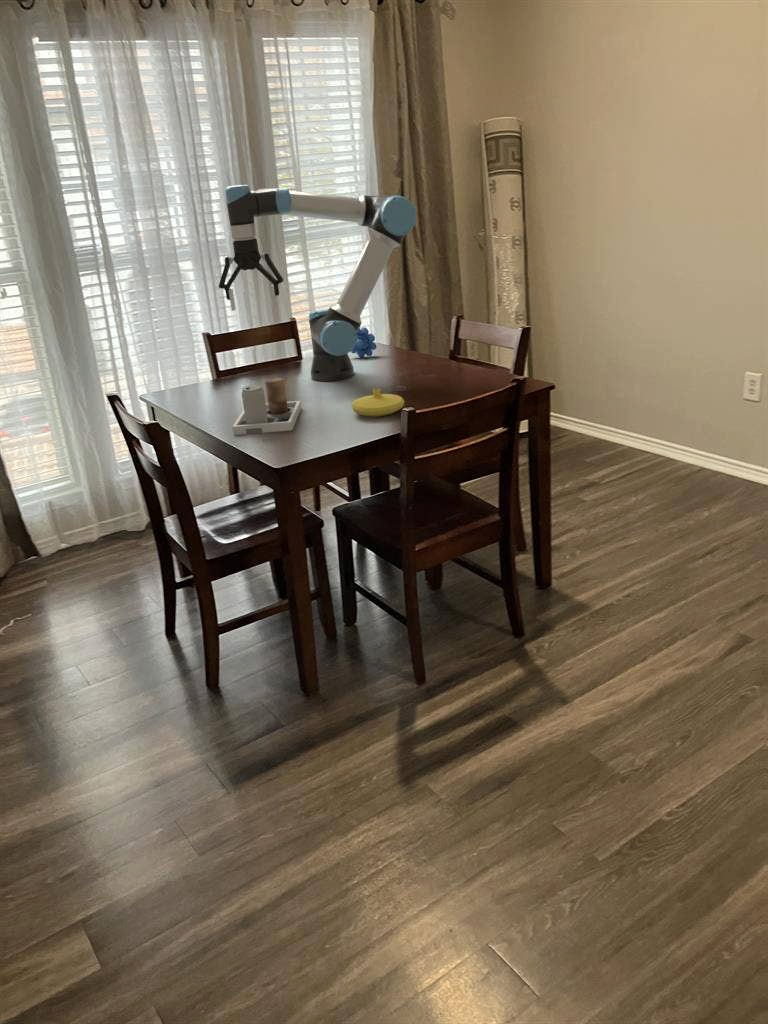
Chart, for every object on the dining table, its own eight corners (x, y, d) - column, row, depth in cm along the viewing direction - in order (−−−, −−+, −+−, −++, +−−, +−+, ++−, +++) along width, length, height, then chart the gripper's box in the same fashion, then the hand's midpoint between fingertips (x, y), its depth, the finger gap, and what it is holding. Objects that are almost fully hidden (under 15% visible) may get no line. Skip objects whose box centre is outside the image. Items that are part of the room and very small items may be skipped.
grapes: (345, 361, 322) (341, 329, 317) (347, 357, 328) (344, 325, 324) (376, 359, 321) (373, 326, 316) (378, 354, 327) (375, 323, 322)
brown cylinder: (289, 412, 265) (285, 377, 261) (287, 417, 260) (282, 382, 255) (271, 413, 265) (266, 379, 261) (269, 419, 260) (263, 383, 256)
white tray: (301, 408, 268) (300, 400, 267) (292, 430, 247) (291, 422, 246) (247, 413, 269) (246, 405, 268) (233, 435, 248) (232, 426, 247)
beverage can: (247, 425, 256) (241, 385, 252) (269, 422, 257) (263, 383, 252) (246, 431, 250) (239, 391, 246) (268, 429, 251) (262, 388, 246)
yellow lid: (354, 407, 264) (351, 385, 261) (405, 403, 263) (403, 380, 260) (350, 423, 249) (348, 399, 246) (405, 418, 248) (403, 394, 245)
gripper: (286, 233, 269) (295, 302, 277) (207, 241, 271) (218, 309, 279) (282, 236, 262) (292, 306, 270) (202, 243, 264) (213, 313, 272)
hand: (254, 308), depth 275 cm, fingers open, 13 cm apart
